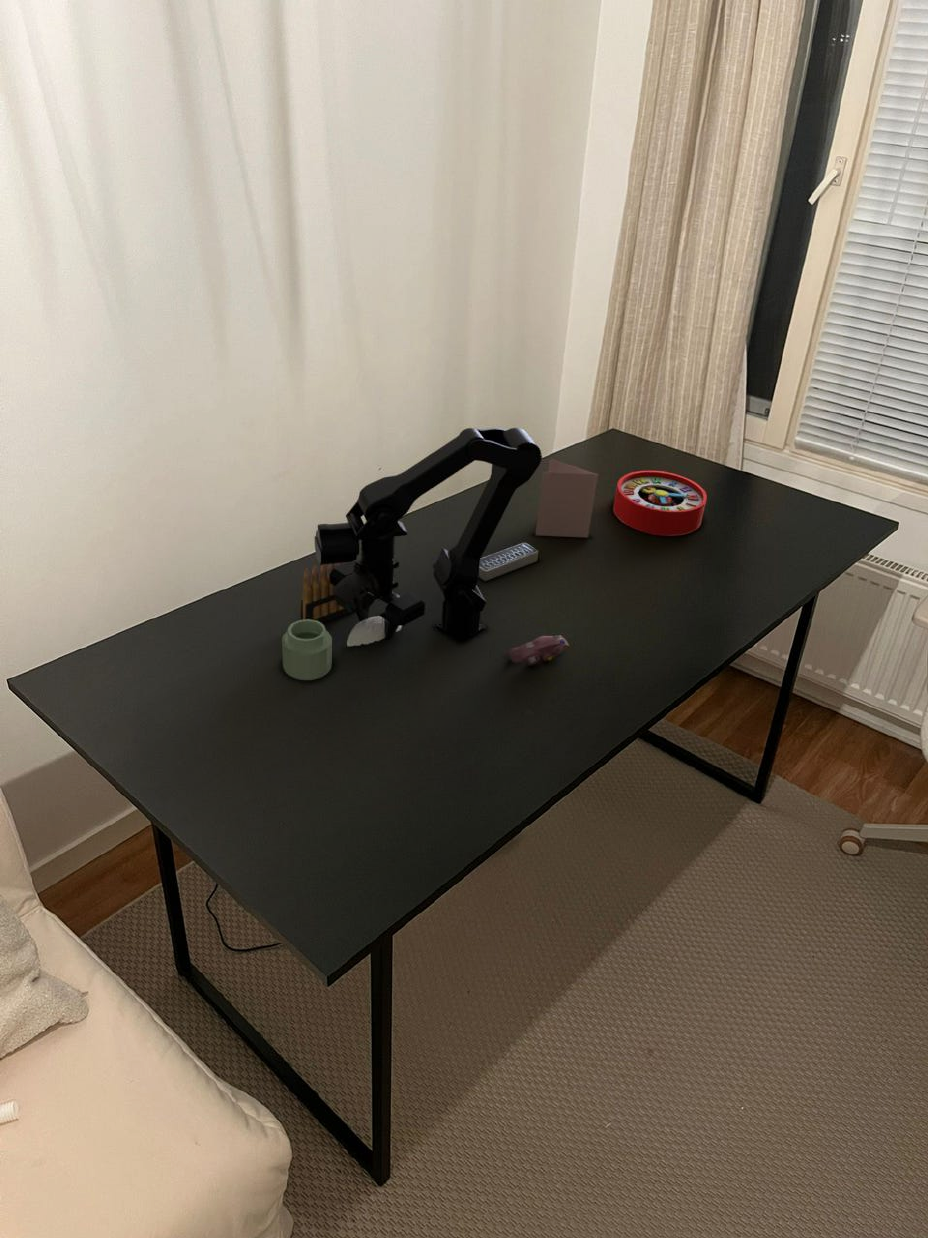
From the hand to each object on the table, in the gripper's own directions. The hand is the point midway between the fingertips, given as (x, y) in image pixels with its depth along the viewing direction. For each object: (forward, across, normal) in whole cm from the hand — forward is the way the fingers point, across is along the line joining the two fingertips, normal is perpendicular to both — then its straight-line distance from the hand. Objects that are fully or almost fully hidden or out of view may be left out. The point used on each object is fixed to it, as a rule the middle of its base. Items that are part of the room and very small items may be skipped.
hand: (375, 631), depth 179 cm
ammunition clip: (+2, -11, -2) cm, 11 cm away
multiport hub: (+2, -1, +37) cm, 37 cm away
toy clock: (+2, +7, +81) cm, 81 cm away
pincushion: (+1, 0, 0) cm, 1 cm away
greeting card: (+2, -2, +56) cm, 56 cm away
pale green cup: (+2, -2, -14) cm, 14 cm away
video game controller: (+2, +24, +17) cm, 29 cm away
